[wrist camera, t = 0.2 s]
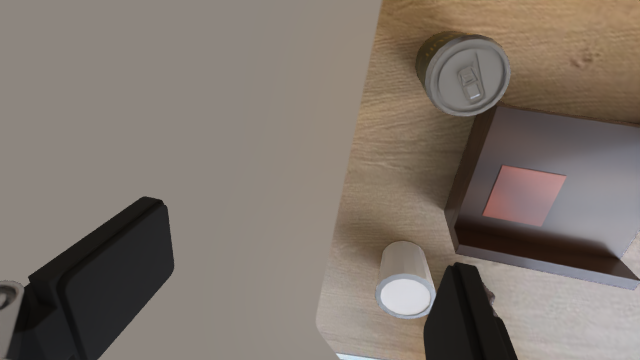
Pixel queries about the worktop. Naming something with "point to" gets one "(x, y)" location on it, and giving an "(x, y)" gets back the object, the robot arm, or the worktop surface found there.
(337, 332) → the worktop surface
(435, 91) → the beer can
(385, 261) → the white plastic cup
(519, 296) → the worktop surface
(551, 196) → the shelf
